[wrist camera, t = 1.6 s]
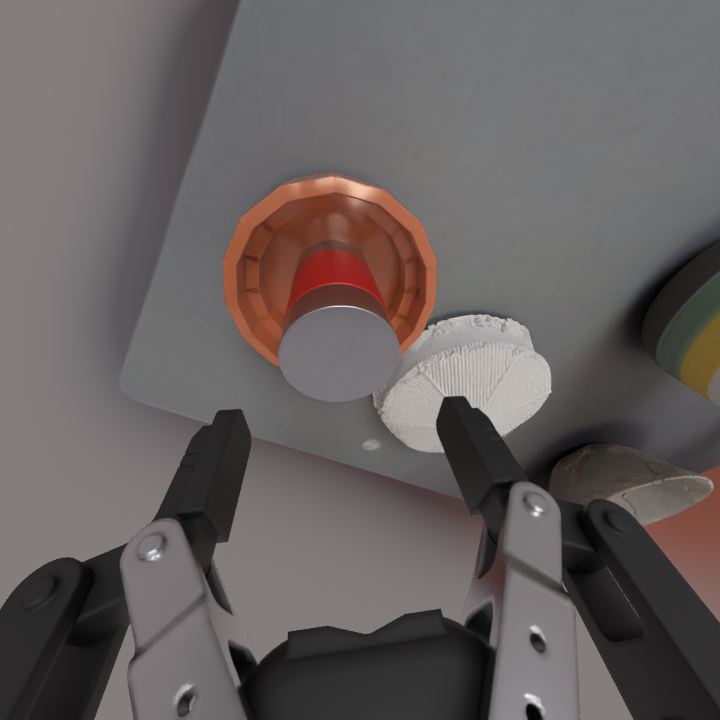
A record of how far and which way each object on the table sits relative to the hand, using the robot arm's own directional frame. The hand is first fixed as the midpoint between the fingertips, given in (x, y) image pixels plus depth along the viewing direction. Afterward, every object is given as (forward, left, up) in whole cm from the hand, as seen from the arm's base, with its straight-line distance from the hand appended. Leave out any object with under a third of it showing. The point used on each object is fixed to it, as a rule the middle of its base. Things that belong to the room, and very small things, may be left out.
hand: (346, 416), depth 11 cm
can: (0, 0, -15) cm, 15 cm away
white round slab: (+19, -3, -15) cm, 25 cm away
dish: (0, 0, -15) cm, 15 cm away
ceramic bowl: (+56, -3, -15) cm, 58 cm away
